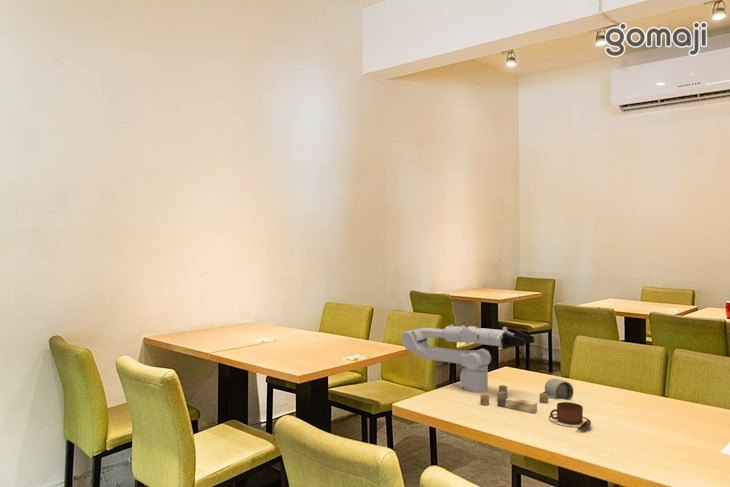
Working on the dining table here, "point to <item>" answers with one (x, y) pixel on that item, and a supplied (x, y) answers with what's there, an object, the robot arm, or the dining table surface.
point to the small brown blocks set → (503, 392)
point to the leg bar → (517, 404)
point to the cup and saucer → (570, 414)
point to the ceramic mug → (558, 389)
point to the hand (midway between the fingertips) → (529, 341)
